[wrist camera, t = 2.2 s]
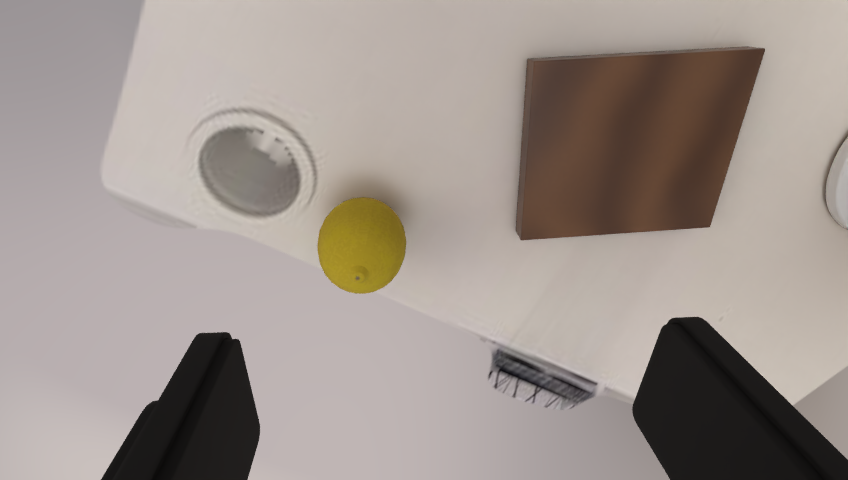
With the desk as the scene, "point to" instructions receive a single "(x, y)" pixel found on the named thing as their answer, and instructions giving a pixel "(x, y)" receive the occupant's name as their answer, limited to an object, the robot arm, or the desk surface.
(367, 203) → the lemon
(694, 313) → the desk surface
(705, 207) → the board
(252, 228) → the desk surface
